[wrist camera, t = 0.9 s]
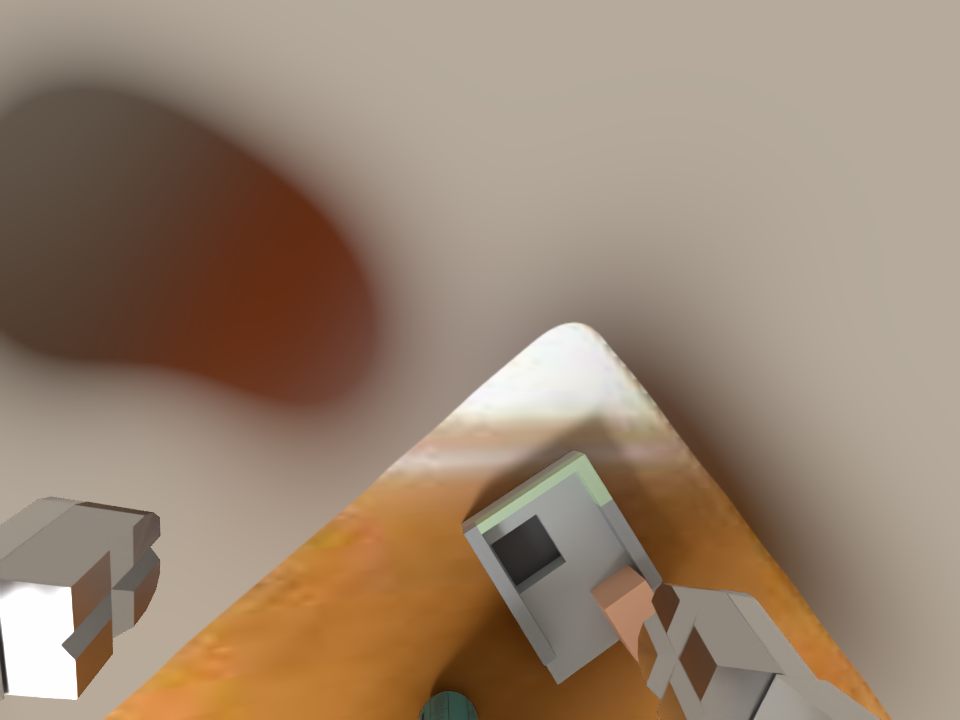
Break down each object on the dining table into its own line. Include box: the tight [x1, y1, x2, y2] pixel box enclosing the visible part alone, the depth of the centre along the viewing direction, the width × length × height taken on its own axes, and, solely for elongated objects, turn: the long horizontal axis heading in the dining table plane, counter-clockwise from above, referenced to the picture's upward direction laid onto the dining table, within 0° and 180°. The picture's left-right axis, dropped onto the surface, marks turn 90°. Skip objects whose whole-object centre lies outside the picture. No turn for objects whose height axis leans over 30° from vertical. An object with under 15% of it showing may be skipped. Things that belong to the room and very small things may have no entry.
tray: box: [462, 450, 663, 685], centre depth 52 cm, size 19×15×4 cm
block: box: [590, 565, 656, 663], centre depth 49 cm, size 6×5×4 cm
